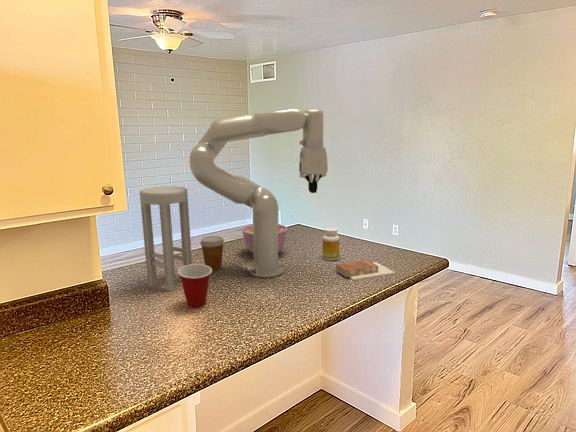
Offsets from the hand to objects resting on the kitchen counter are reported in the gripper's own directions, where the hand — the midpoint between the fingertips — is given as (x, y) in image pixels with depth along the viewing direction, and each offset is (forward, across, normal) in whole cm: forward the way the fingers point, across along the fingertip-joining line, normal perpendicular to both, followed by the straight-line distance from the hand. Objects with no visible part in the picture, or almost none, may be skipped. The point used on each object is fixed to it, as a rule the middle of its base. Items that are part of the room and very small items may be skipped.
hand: (312, 192), depth 161 cm
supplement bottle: (+31, +13, +10) cm, 35 cm away
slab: (+29, +7, -10) cm, 32 cm away
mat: (+31, +18, -10) cm, 37 cm away
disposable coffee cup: (+31, -36, +18) cm, 51 cm away
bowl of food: (+31, -11, +27) cm, 43 cm away
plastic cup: (+31, -48, -15) cm, 59 cm away
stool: (+31, -54, +7) cm, 63 cm away
